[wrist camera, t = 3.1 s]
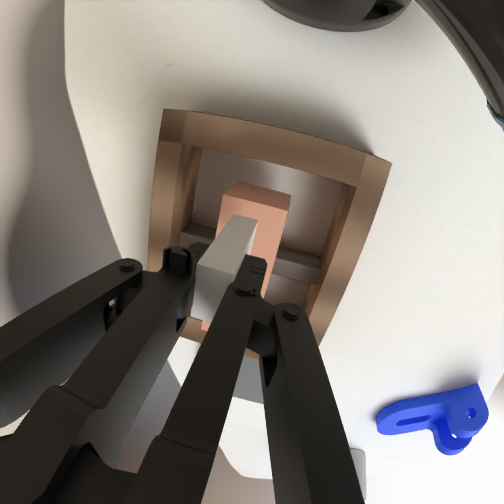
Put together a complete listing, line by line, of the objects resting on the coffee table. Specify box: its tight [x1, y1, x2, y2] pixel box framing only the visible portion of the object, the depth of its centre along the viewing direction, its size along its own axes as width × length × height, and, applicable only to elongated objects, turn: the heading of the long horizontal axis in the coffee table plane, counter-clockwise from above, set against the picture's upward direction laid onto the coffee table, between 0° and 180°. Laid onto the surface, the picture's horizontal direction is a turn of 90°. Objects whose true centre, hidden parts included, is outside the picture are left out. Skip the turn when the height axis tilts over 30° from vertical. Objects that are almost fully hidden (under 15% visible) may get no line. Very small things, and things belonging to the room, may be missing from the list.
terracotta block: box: [201, 182, 291, 331], centre depth 23 cm, size 12×4×4 cm, turn 168°
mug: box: [350, 449, 366, 501], centre depth 39 cm, size 12×8×11 cm
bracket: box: [376, 384, 489, 455], centre depth 31 cm, size 18×8×9 cm, turn 98°
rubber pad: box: [233, 356, 264, 404], centre depth 35 cm, size 10×10×1 cm
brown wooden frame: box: [148, 109, 392, 360], centre depth 25 cm, size 21×17×5 cm
